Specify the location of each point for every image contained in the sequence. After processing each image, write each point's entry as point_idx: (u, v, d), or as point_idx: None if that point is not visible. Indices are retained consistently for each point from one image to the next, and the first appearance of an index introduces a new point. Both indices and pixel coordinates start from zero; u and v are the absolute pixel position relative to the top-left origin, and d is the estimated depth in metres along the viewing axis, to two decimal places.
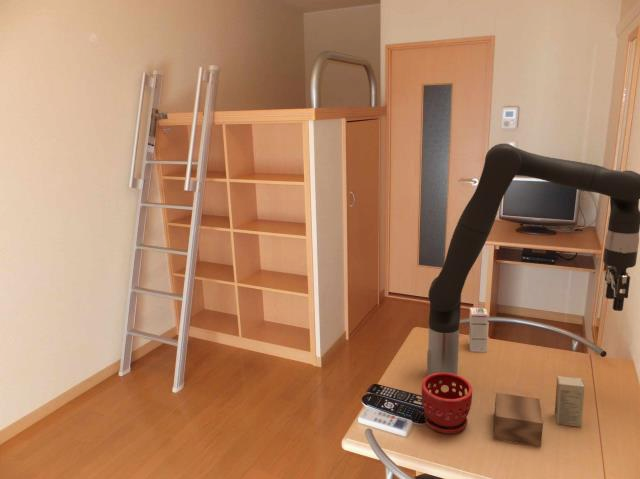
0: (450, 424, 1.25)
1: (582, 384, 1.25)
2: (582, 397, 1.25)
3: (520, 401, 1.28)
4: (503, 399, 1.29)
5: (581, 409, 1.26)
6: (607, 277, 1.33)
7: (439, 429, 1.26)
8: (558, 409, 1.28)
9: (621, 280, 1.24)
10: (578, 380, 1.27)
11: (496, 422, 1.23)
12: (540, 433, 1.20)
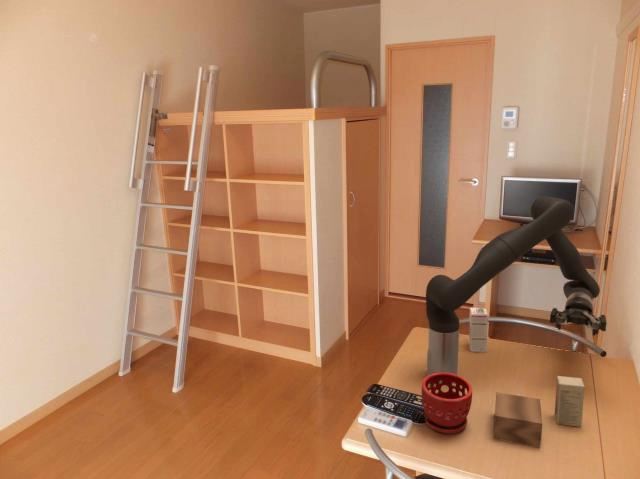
0: (450, 424, 1.25)
1: (582, 384, 1.25)
2: (582, 397, 1.25)
3: (521, 401, 1.28)
4: (503, 399, 1.29)
5: (581, 409, 1.26)
6: (568, 313, 1.40)
7: (439, 429, 1.26)
8: (558, 409, 1.28)
9: None
10: (578, 380, 1.27)
11: (495, 422, 1.23)
12: (539, 433, 1.20)
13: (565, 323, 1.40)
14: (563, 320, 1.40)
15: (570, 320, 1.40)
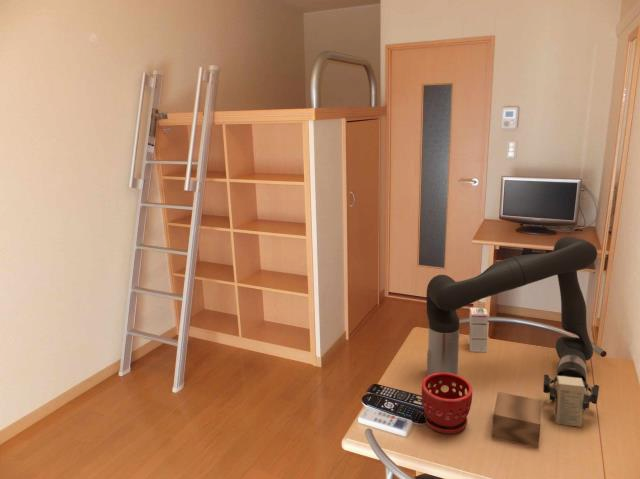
0: (450, 424, 1.25)
1: (582, 384, 1.25)
2: (582, 397, 1.25)
3: (522, 401, 1.28)
4: (504, 399, 1.30)
5: (581, 409, 1.26)
6: None
7: (439, 429, 1.26)
8: (558, 409, 1.28)
9: (598, 389, 1.31)
10: (578, 380, 1.27)
11: (494, 420, 1.24)
12: (538, 434, 1.20)
13: None
14: None
15: None
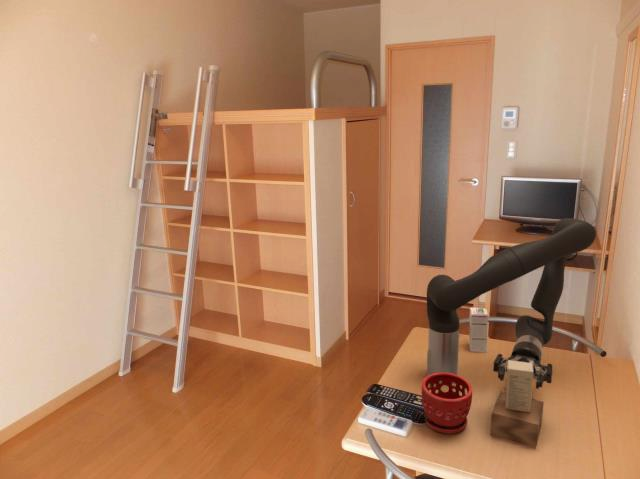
0: (450, 424, 1.25)
1: (531, 369, 1.21)
2: (531, 382, 1.21)
3: None
4: None
5: (530, 395, 1.22)
6: None
7: (439, 429, 1.26)
8: (507, 394, 1.24)
9: None
10: (528, 365, 1.22)
11: (492, 419, 1.25)
12: (535, 434, 1.20)
13: None
14: None
15: None
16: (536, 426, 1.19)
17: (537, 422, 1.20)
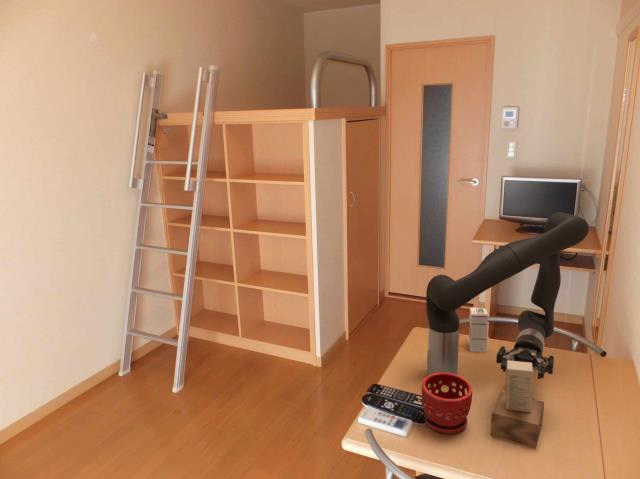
0: (450, 424, 1.25)
1: (531, 369, 1.21)
2: (531, 382, 1.21)
3: None
4: None
5: (530, 394, 1.22)
6: (516, 353, 1.33)
7: (439, 429, 1.26)
8: (507, 394, 1.24)
9: (553, 359, 1.31)
10: (527, 365, 1.22)
11: (492, 419, 1.25)
12: (535, 434, 1.20)
13: None
14: (510, 360, 1.33)
15: None
16: (536, 426, 1.19)
17: (537, 422, 1.20)
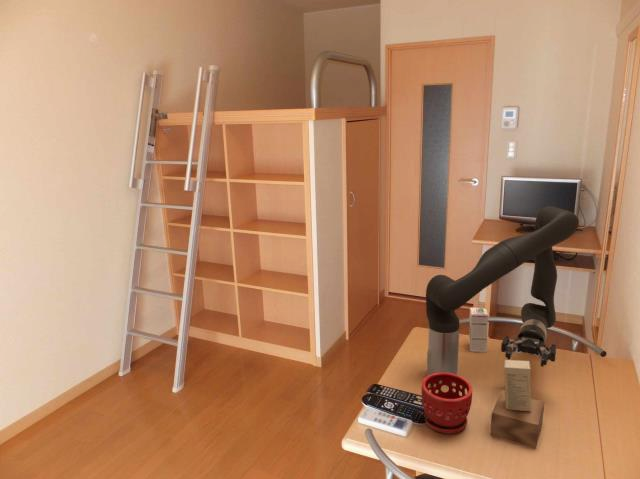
0: (450, 424, 1.25)
1: (528, 367, 1.21)
2: (529, 380, 1.21)
3: None
4: None
5: (529, 393, 1.22)
6: (519, 342, 1.39)
7: (439, 429, 1.26)
8: (506, 394, 1.24)
9: (555, 348, 1.36)
10: (524, 363, 1.23)
11: (492, 419, 1.25)
12: (535, 435, 1.20)
13: (516, 352, 1.39)
14: (514, 349, 1.39)
15: (521, 349, 1.38)
16: (536, 426, 1.19)
17: (537, 422, 1.20)
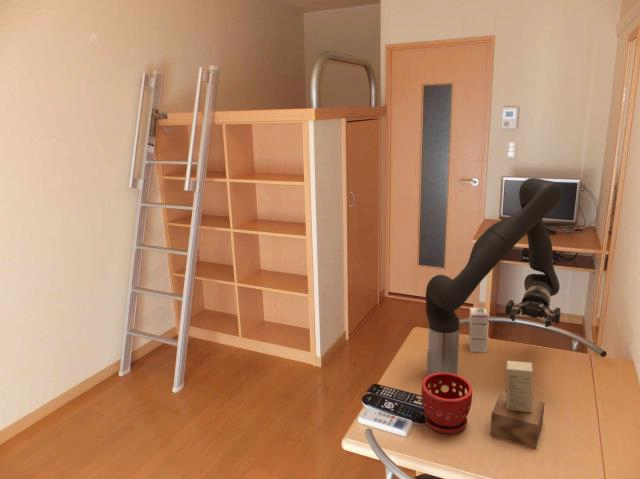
0: (450, 424, 1.25)
1: (530, 369, 1.20)
2: (531, 382, 1.21)
3: None
4: None
5: (530, 394, 1.22)
6: (524, 305, 1.38)
7: (439, 429, 1.26)
8: (507, 395, 1.24)
9: None
10: (527, 365, 1.22)
11: (492, 418, 1.25)
12: (535, 435, 1.20)
13: (520, 315, 1.38)
14: (518, 312, 1.39)
15: (525, 312, 1.38)
16: (536, 426, 1.19)
17: (537, 422, 1.19)
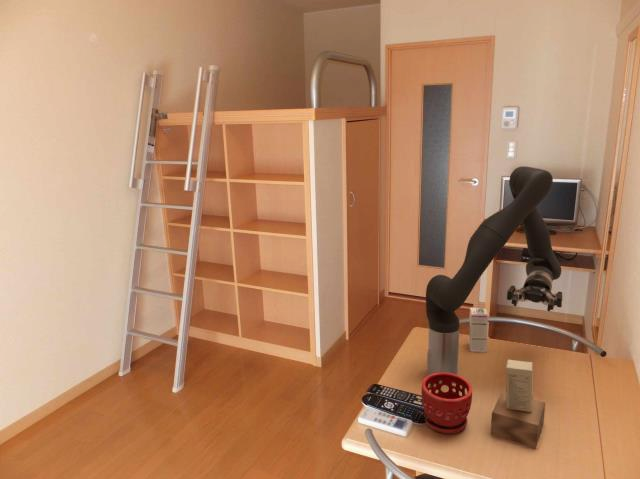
0: (450, 424, 1.25)
1: (530, 368, 1.21)
2: (530, 381, 1.21)
3: None
4: None
5: (530, 394, 1.22)
6: (525, 289, 1.38)
7: (439, 429, 1.26)
8: (507, 393, 1.24)
9: None
10: (527, 364, 1.23)
11: (492, 418, 1.25)
12: (535, 435, 1.19)
13: (522, 300, 1.38)
14: (520, 297, 1.38)
15: (527, 297, 1.38)
16: (536, 426, 1.19)
17: (537, 422, 1.19)
